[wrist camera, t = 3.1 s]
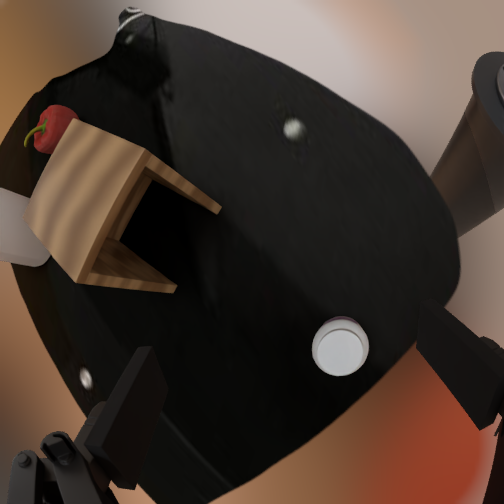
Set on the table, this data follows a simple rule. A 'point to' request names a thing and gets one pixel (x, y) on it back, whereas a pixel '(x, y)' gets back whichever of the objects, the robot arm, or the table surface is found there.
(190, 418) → the table surface
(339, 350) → the pill bottle
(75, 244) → the cubby
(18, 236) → the white jar
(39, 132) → the vegetable
